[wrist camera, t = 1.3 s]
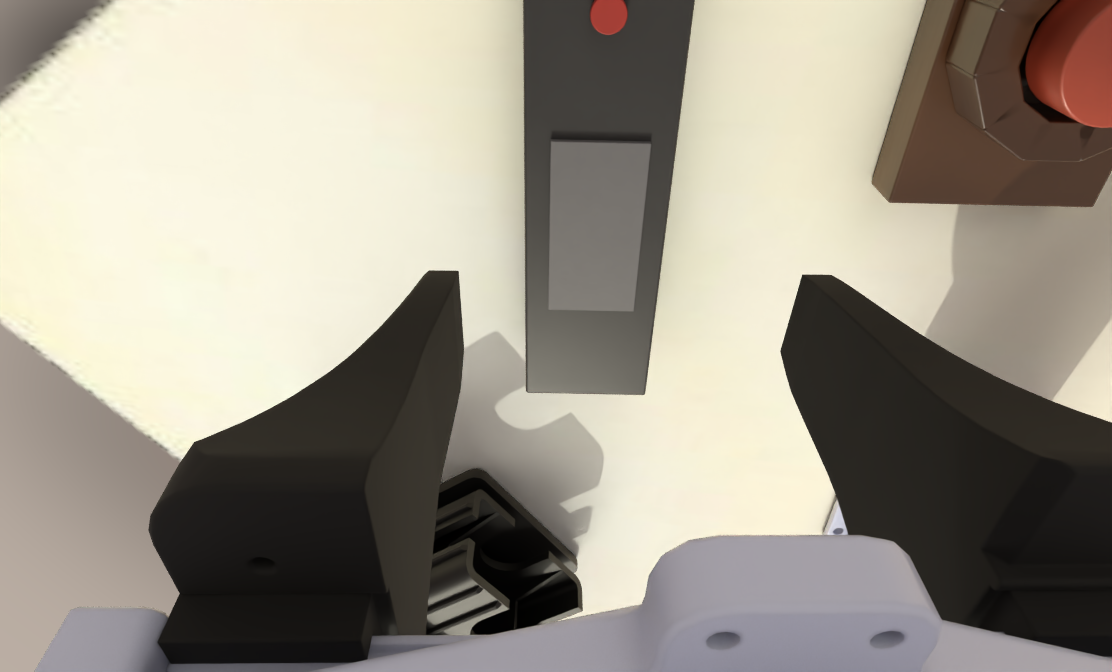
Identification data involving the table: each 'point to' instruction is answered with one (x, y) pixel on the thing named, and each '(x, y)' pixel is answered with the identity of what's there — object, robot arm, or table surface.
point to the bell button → (1074, 61)
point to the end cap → (495, 564)
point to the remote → (598, 185)
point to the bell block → (985, 117)
